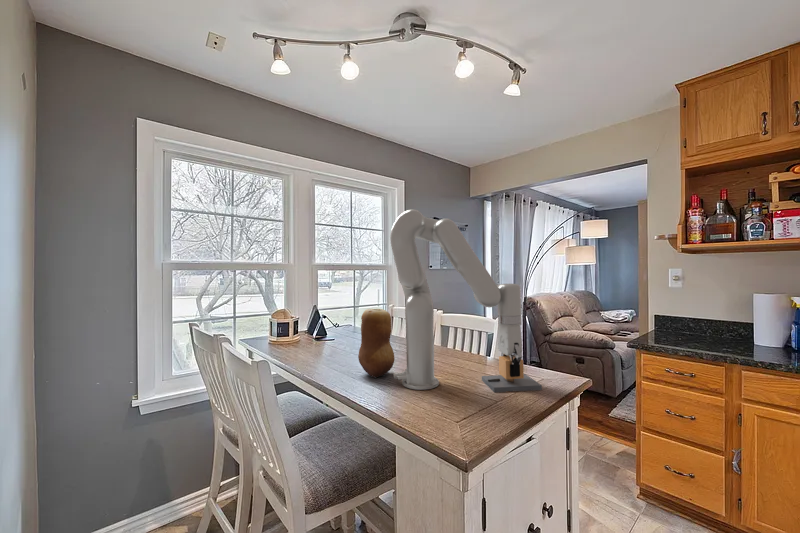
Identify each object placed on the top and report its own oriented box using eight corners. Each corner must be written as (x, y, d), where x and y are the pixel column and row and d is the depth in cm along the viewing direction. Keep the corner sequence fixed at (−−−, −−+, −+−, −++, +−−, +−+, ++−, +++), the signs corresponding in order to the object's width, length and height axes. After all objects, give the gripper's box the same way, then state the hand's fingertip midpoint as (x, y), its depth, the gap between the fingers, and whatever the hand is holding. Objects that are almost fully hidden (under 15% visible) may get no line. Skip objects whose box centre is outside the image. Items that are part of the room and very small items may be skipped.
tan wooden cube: (506, 379, 116) (505, 361, 116) (499, 373, 122) (498, 356, 122) (523, 378, 116) (523, 360, 116) (516, 372, 122) (515, 355, 122)
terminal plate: (493, 392, 112) (493, 375, 112) (481, 380, 124) (481, 364, 124) (541, 389, 114) (541, 372, 114) (525, 378, 126) (525, 362, 126)
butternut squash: (401, 375, 132) (400, 308, 132) (375, 383, 122) (374, 312, 122) (377, 368, 141) (376, 306, 141) (350, 375, 132) (349, 309, 132)
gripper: (490, 317, 127) (491, 366, 127) (509, 324, 110) (510, 382, 110) (510, 316, 128) (511, 365, 128) (532, 323, 111) (533, 380, 111)
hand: (510, 372), depth 119 cm, fingers closed on tan wooden cube, 5 cm apart
